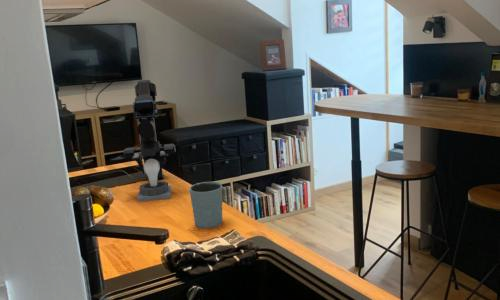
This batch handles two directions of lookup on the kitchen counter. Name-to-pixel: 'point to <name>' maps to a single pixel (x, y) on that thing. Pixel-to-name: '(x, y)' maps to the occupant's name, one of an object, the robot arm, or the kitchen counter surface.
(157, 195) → the bulb holder
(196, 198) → the blue-grey cup
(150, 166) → the lightbulb
